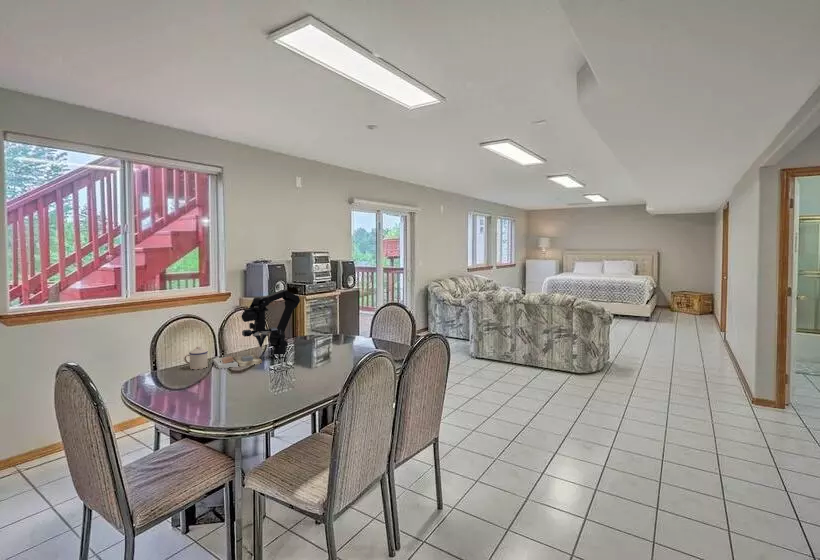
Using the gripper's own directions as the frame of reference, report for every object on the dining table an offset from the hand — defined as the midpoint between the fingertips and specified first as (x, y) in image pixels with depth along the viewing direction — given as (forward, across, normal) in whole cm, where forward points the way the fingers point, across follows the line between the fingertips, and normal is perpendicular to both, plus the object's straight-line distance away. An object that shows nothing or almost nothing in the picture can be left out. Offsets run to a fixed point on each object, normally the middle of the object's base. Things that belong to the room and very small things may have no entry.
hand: (260, 346), depth 246 cm
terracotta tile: (+8, +16, -7) cm, 19 cm away
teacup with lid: (+9, +33, -6) cm, 34 cm away
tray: (+9, +18, -4) cm, 21 cm away
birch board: (+9, +7, -4) cm, 12 cm away
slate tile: (+7, +8, 0) cm, 10 cm away
